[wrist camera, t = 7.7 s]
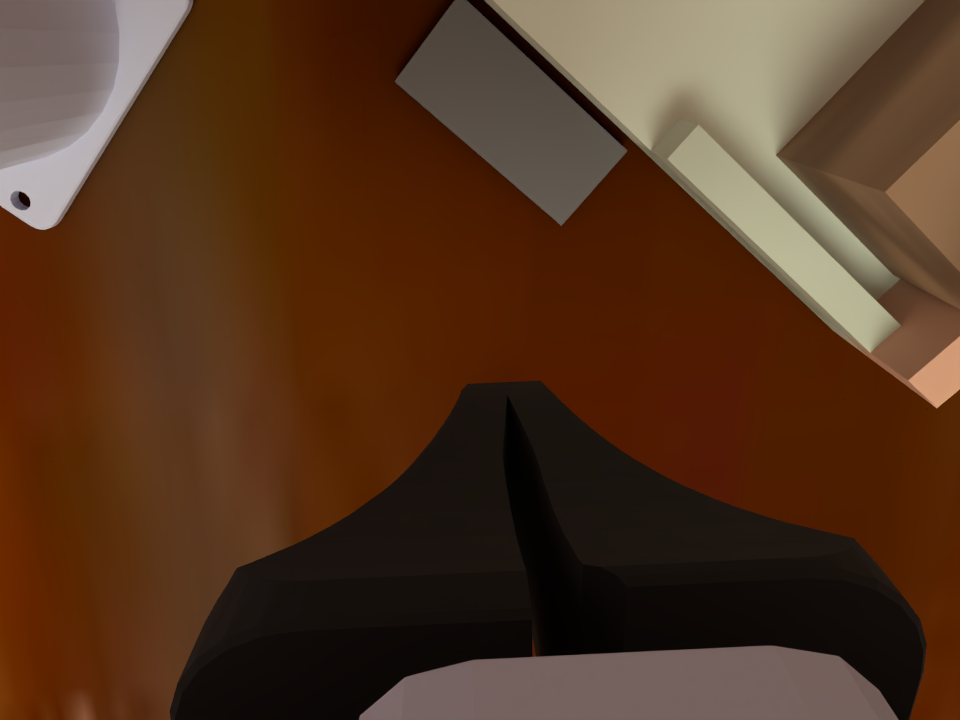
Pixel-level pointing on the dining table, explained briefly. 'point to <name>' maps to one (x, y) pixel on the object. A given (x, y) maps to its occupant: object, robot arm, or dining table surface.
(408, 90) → the mats
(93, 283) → the dining table surface
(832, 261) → the trap lane
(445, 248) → the dining table surface
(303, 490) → the dining table surface
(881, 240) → the walnut block
